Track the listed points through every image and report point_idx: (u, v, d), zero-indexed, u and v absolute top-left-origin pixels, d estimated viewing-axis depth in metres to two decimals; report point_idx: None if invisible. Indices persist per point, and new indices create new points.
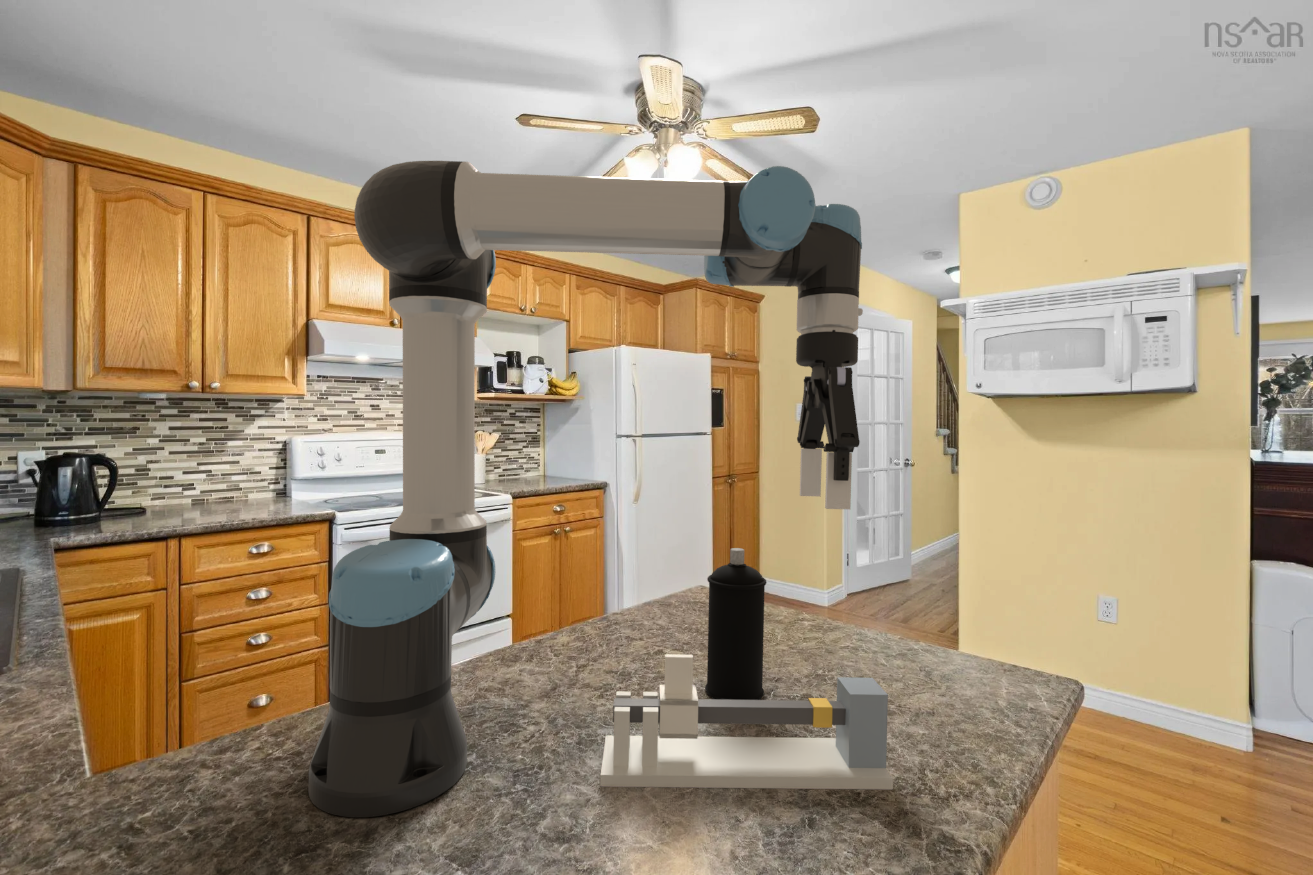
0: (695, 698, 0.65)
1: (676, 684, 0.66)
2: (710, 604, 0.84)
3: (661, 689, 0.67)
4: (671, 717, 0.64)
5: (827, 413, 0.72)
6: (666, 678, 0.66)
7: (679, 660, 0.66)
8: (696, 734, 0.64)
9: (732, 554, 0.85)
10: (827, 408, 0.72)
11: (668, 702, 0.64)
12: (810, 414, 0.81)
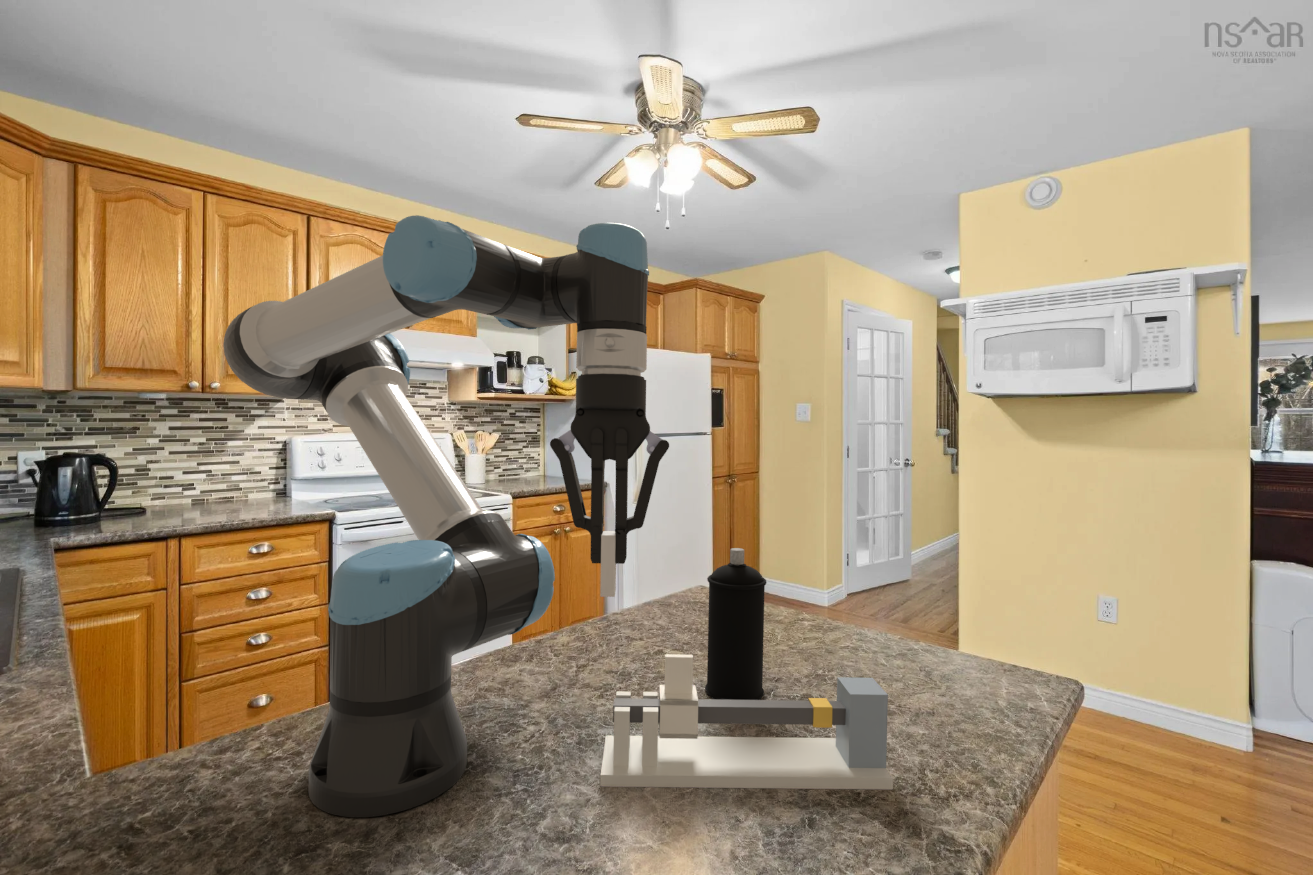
0: (695, 698, 0.65)
1: (676, 684, 0.66)
2: (710, 604, 0.84)
3: (661, 689, 0.67)
4: (671, 717, 0.64)
5: None
6: (666, 678, 0.66)
7: (679, 660, 0.66)
8: (696, 734, 0.64)
9: (732, 554, 0.85)
10: None
11: (668, 702, 0.64)
12: None
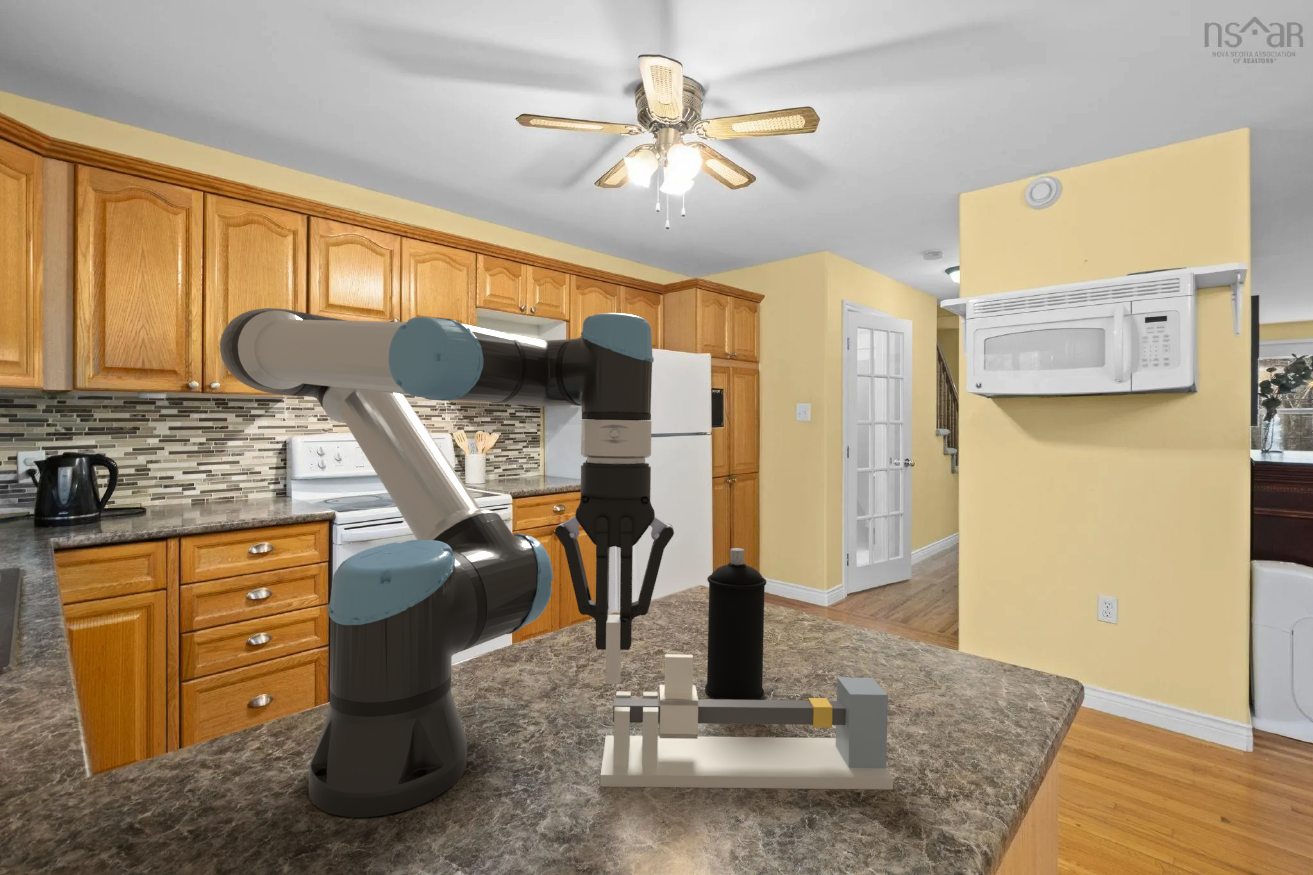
0: (695, 698, 0.65)
1: (676, 684, 0.66)
2: (710, 604, 0.84)
3: (661, 689, 0.67)
4: (671, 717, 0.64)
5: None
6: (666, 678, 0.66)
7: (679, 660, 0.66)
8: (696, 734, 0.64)
9: (732, 554, 0.85)
10: None
11: (668, 702, 0.64)
12: None
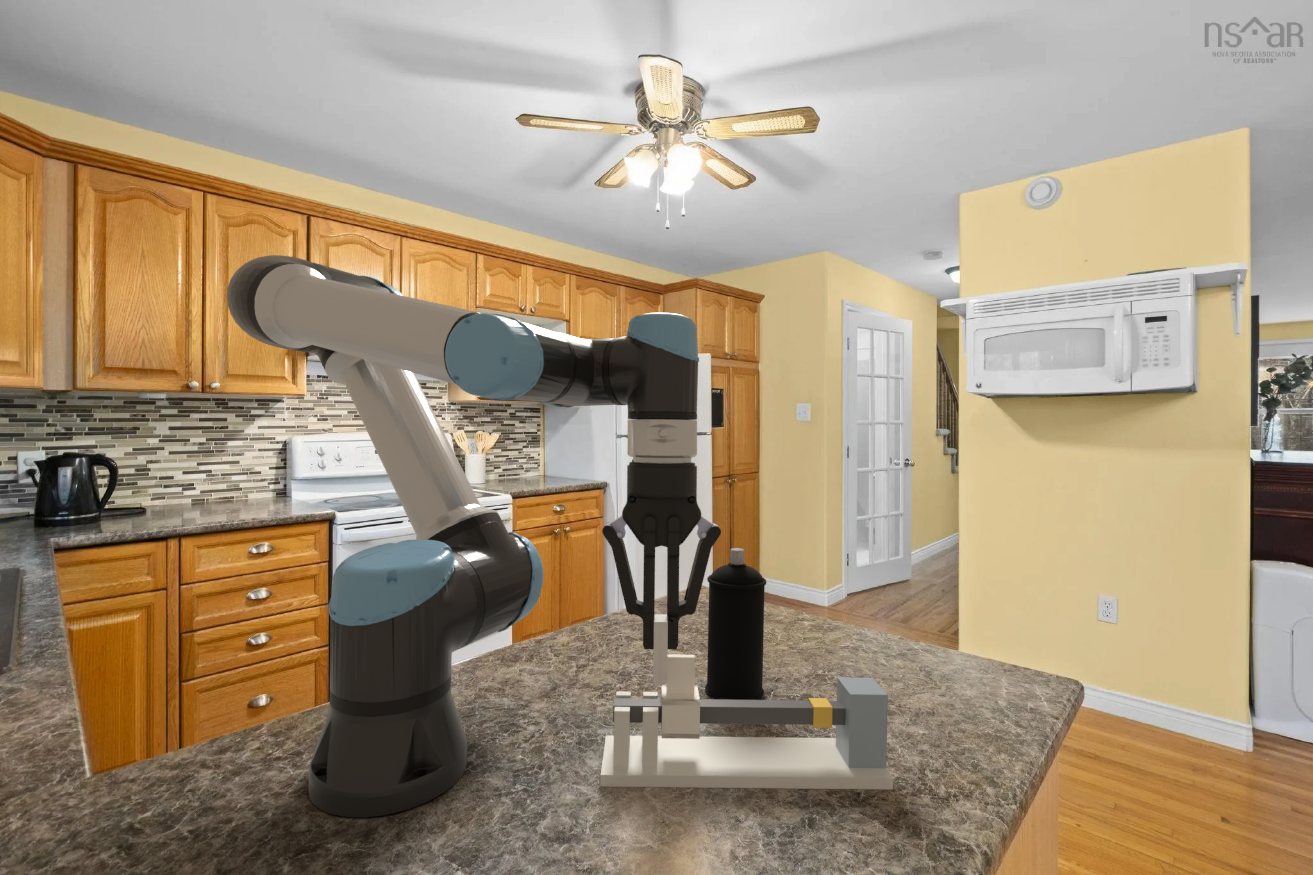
0: (697, 698, 0.65)
1: (678, 684, 0.66)
2: (710, 604, 0.84)
3: (663, 689, 0.67)
4: (673, 717, 0.64)
5: None
6: (668, 678, 0.66)
7: (681, 660, 0.66)
8: (698, 734, 0.64)
9: (732, 554, 0.85)
10: None
11: (670, 702, 0.64)
12: None
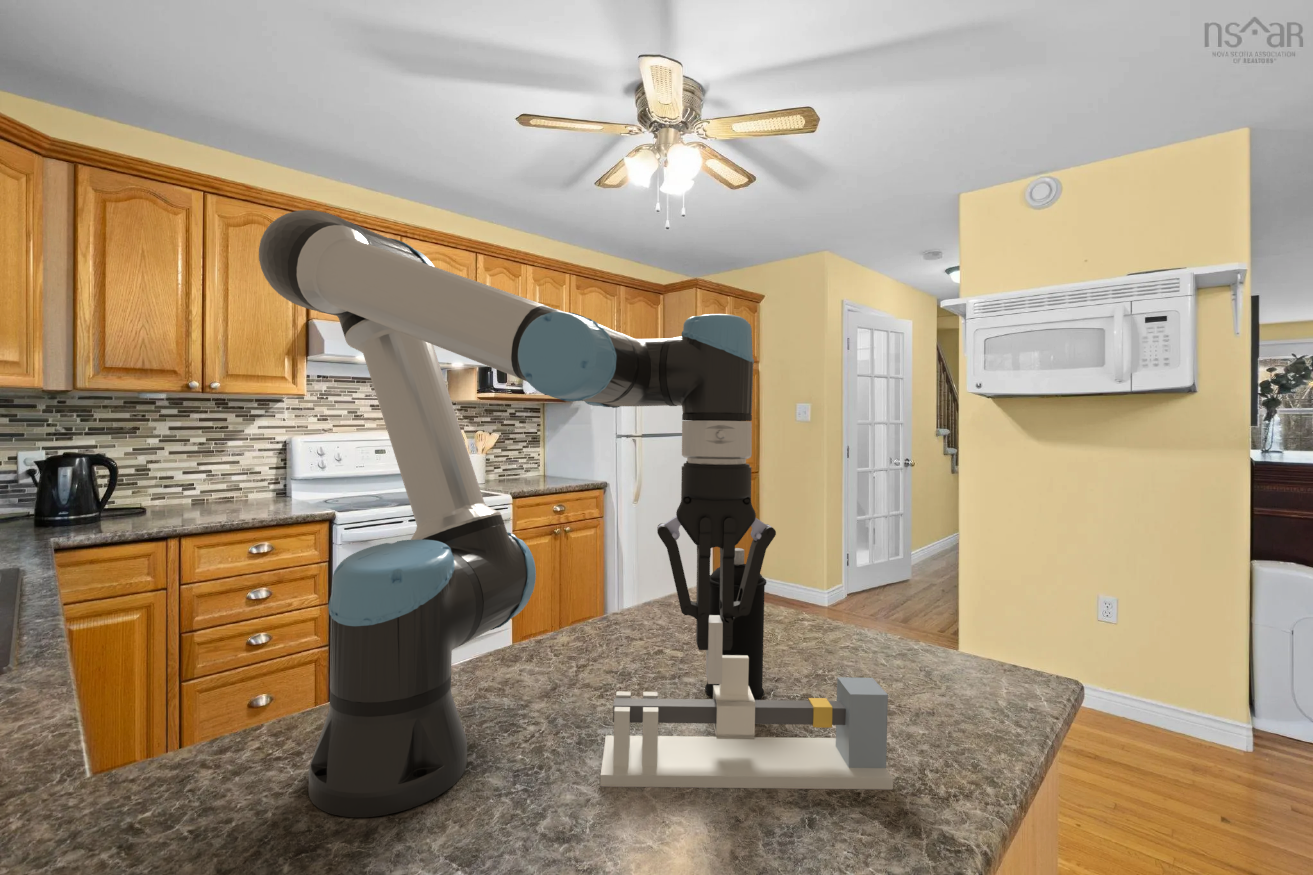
0: (752, 698, 0.65)
1: (732, 685, 0.66)
2: (710, 604, 0.84)
3: (716, 690, 0.67)
4: (728, 718, 0.64)
5: None
6: (722, 679, 0.66)
7: (735, 661, 0.66)
8: (753, 735, 0.64)
9: None
10: (697, 561, 0.67)
11: (725, 703, 0.64)
12: (720, 558, 0.67)
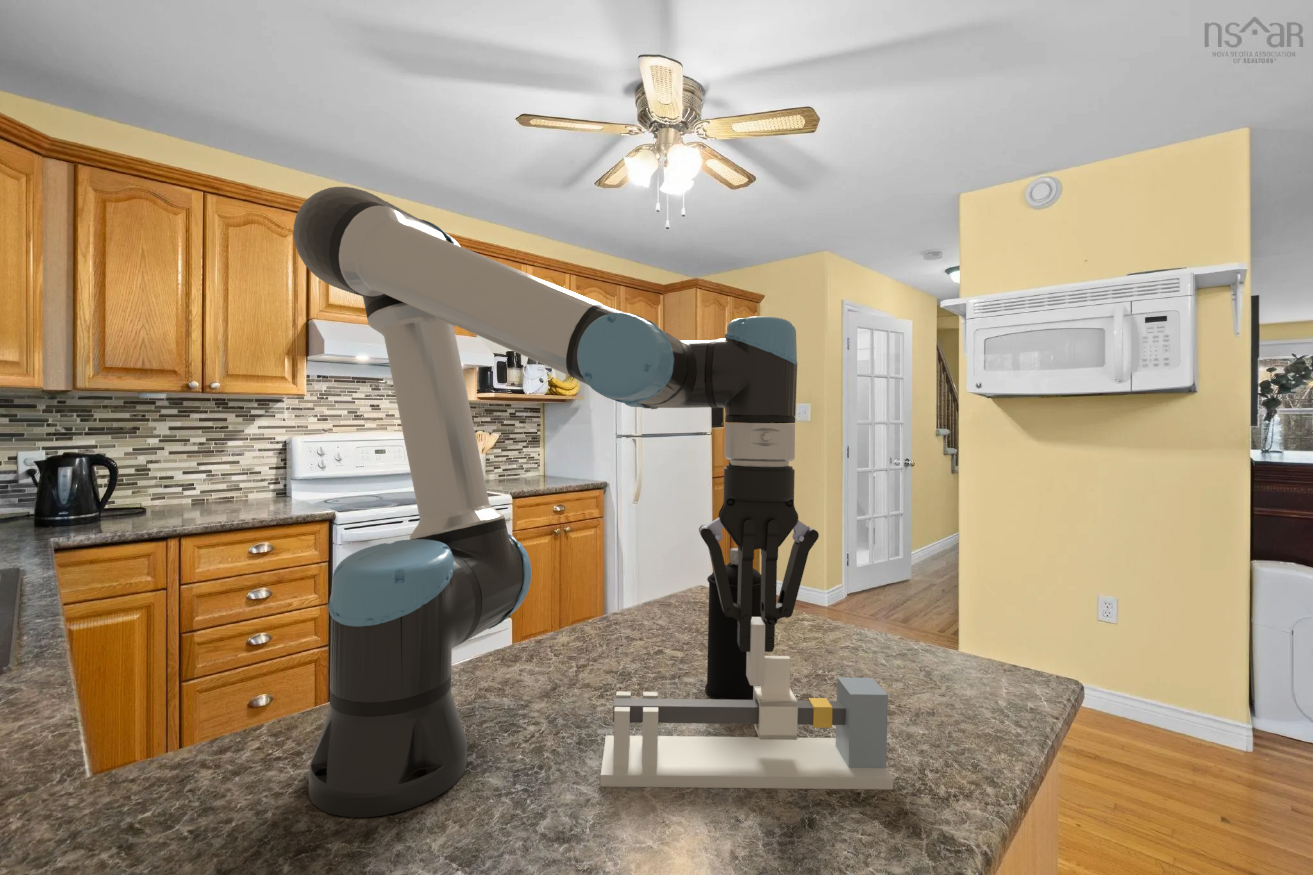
0: (794, 699, 0.65)
1: (773, 685, 0.66)
2: (710, 604, 0.84)
3: (757, 690, 0.67)
4: (771, 718, 0.64)
5: (738, 570, 0.67)
6: None
7: (776, 661, 0.66)
8: (795, 735, 0.64)
9: (732, 554, 0.85)
10: (738, 563, 0.67)
11: (768, 703, 0.64)
12: (761, 560, 0.67)
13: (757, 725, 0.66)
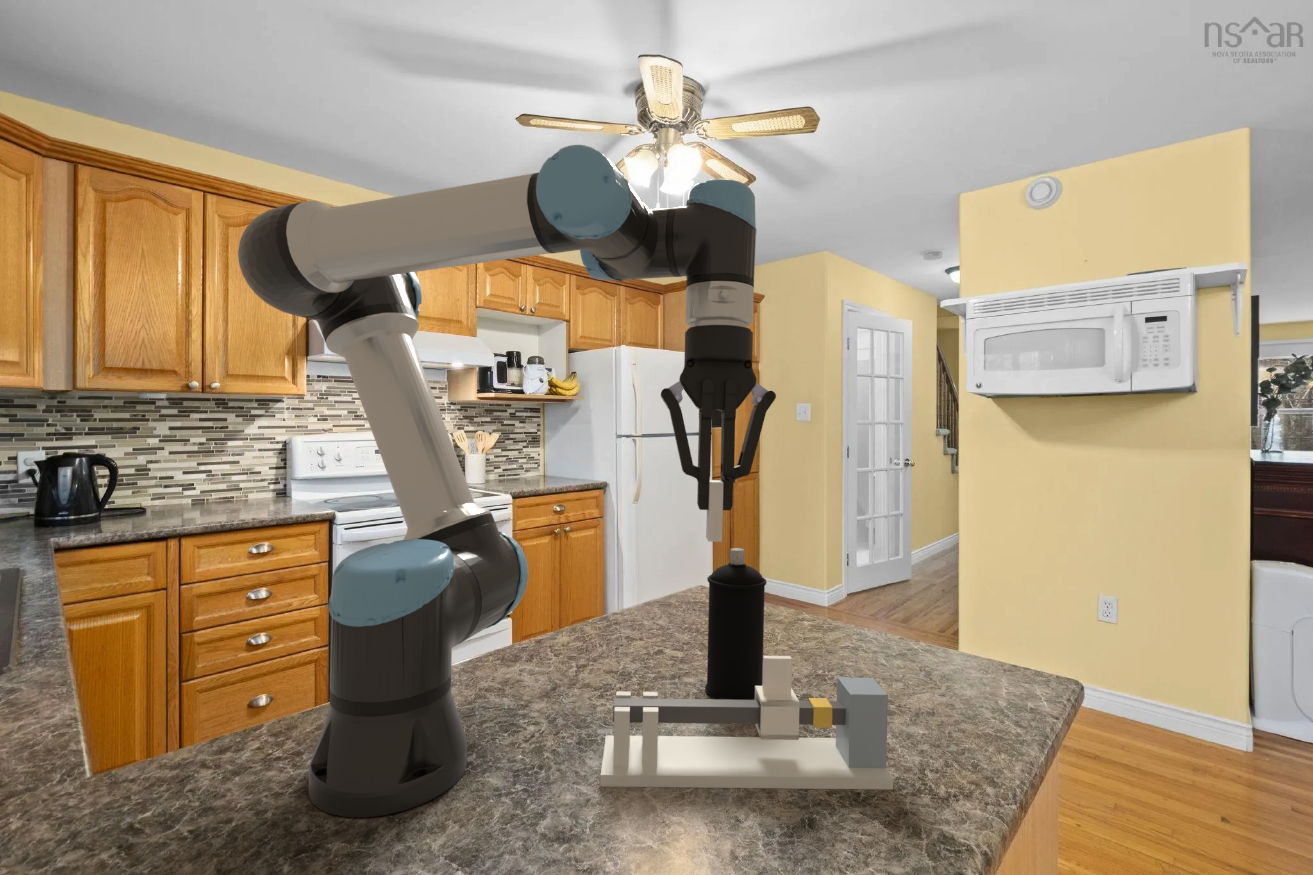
0: (795, 699, 0.65)
1: (775, 685, 0.66)
2: (710, 604, 0.84)
3: (758, 690, 0.67)
4: (772, 718, 0.64)
5: None
6: (765, 679, 0.66)
7: (778, 661, 0.66)
8: (797, 735, 0.64)
9: (732, 554, 0.85)
10: None
11: (769, 703, 0.64)
12: None
13: (759, 725, 0.66)
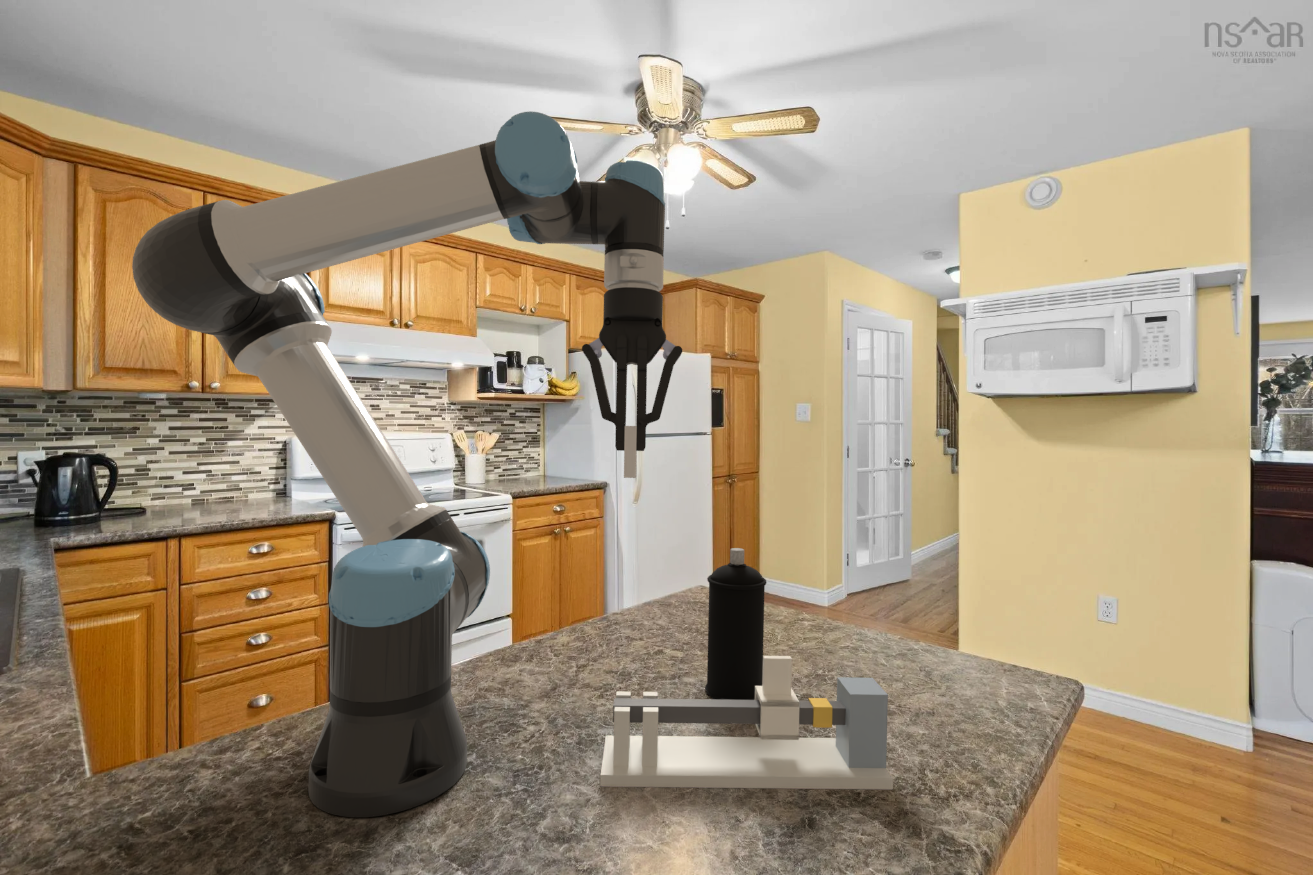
0: (795, 699, 0.65)
1: (775, 685, 0.66)
2: (710, 604, 0.84)
3: (758, 690, 0.67)
4: (772, 718, 0.64)
5: None
6: (765, 679, 0.66)
7: (778, 661, 0.66)
8: (797, 735, 0.64)
9: (732, 554, 0.85)
10: None
11: (769, 703, 0.64)
12: None
13: (759, 725, 0.66)
